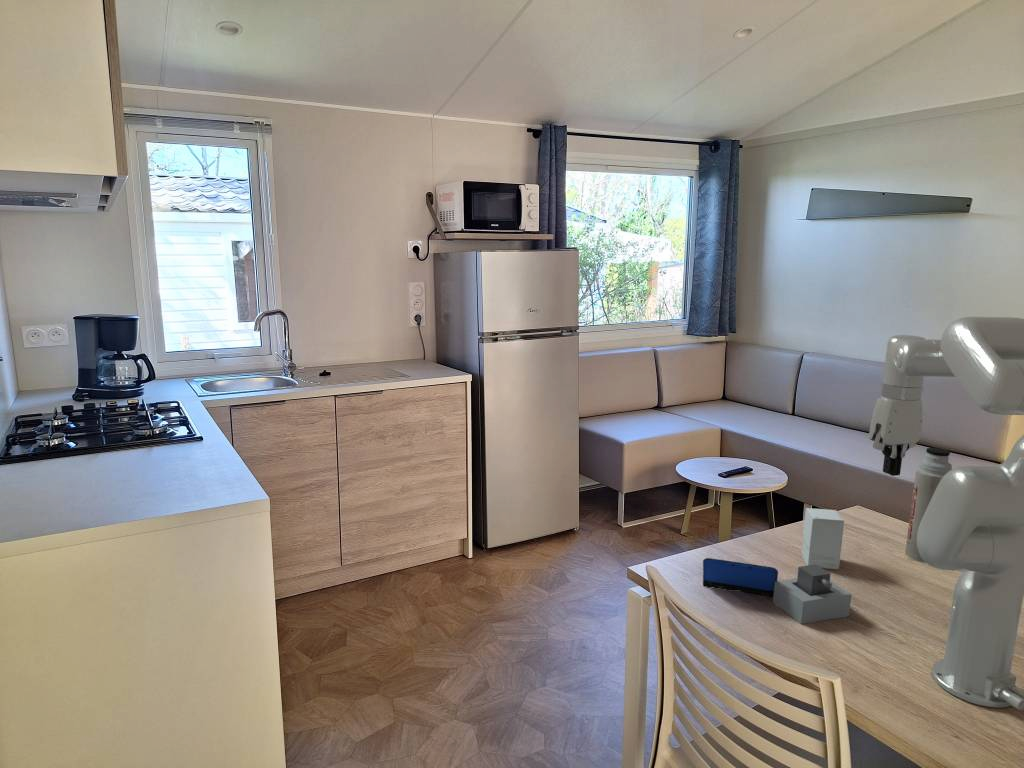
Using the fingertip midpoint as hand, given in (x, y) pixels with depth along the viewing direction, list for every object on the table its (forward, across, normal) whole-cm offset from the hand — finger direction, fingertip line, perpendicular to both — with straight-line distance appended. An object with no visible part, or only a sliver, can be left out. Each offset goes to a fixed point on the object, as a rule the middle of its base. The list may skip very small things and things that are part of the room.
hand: (891, 473), depth 149 cm
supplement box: (+27, +4, -14) cm, 31 cm away
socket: (+27, +22, +4) cm, 35 cm away
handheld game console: (+28, +31, -8) cm, 42 cm away
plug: (+26, +22, +6) cm, 35 cm away
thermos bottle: (+27, -24, -10) cm, 38 cm away
